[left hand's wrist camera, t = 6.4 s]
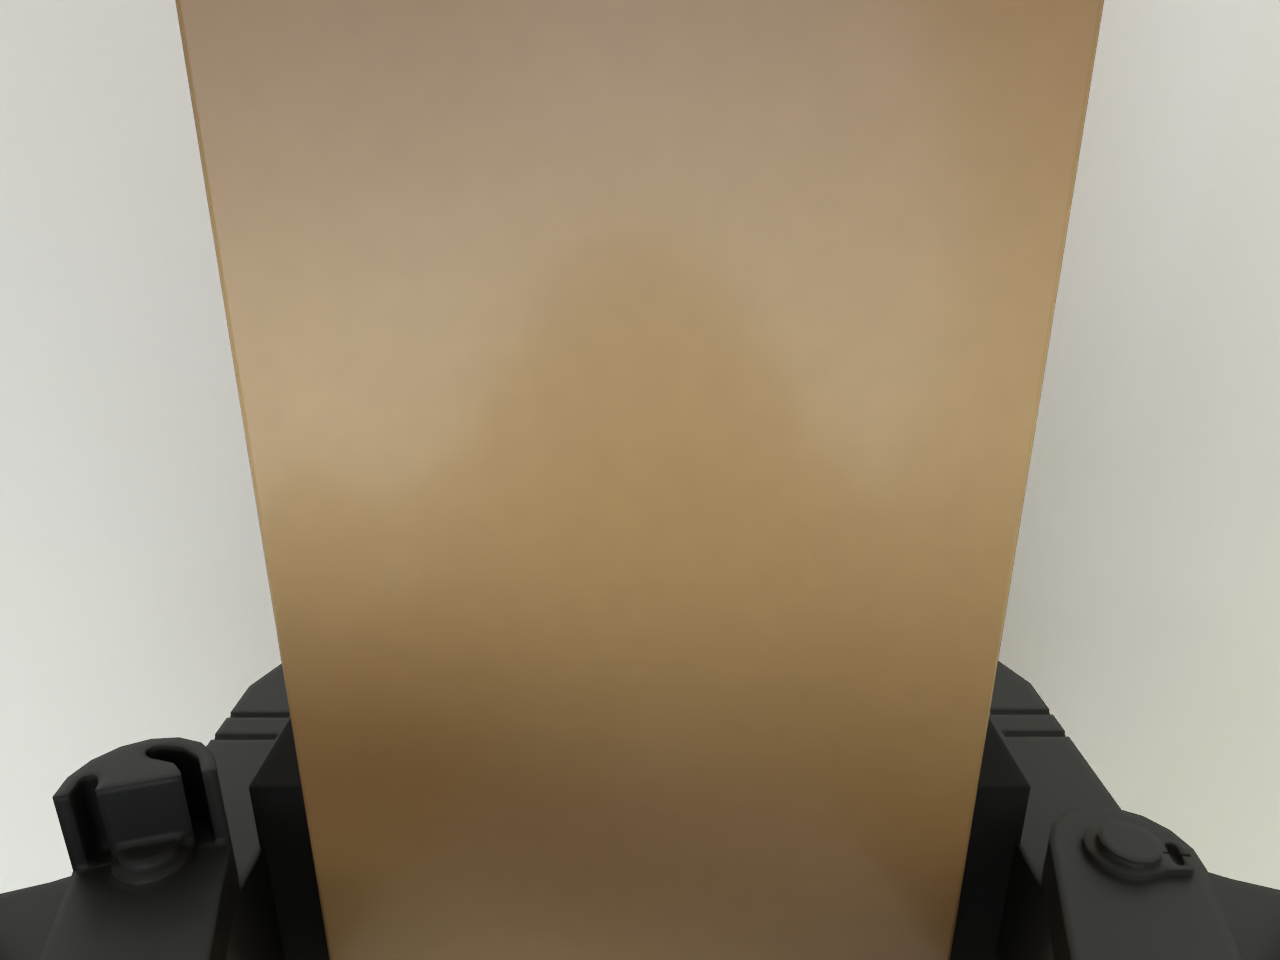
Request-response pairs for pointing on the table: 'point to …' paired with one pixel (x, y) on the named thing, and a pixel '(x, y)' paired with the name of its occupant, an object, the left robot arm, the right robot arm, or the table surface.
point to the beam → (639, 448)
